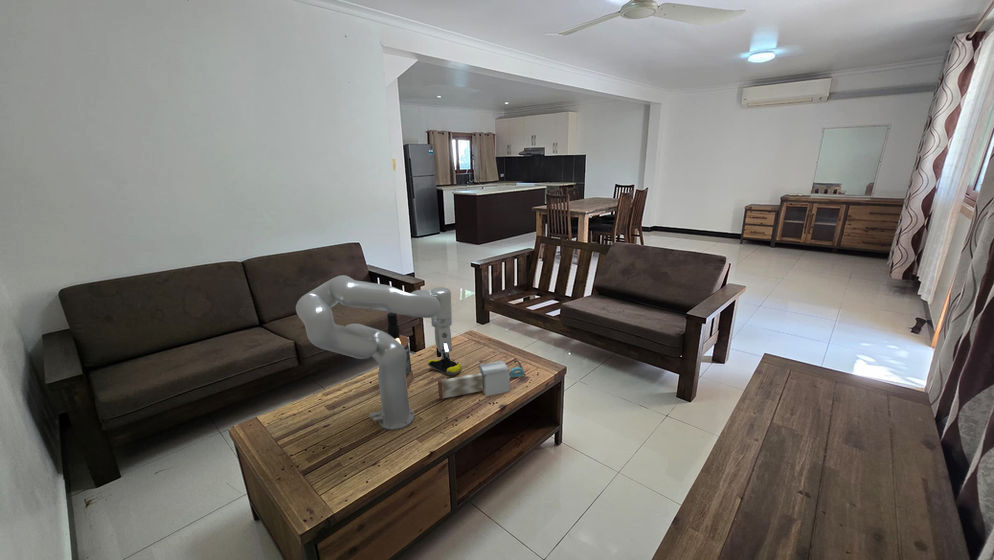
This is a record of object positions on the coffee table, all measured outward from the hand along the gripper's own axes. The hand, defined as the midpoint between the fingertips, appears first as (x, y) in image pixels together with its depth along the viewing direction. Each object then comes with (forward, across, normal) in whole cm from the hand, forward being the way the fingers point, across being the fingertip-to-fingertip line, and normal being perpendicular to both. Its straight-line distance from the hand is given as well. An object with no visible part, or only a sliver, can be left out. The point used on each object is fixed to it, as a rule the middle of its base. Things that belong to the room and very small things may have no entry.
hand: (443, 362), depth 154 cm
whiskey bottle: (+17, +18, +16) cm, 30 cm away
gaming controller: (+16, +21, -5) cm, 27 cm away
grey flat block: (+15, 0, -7) cm, 16 cm away
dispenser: (+16, 0, -21) cm, 26 cm away
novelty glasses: (+16, +12, -30) cm, 36 cm away
